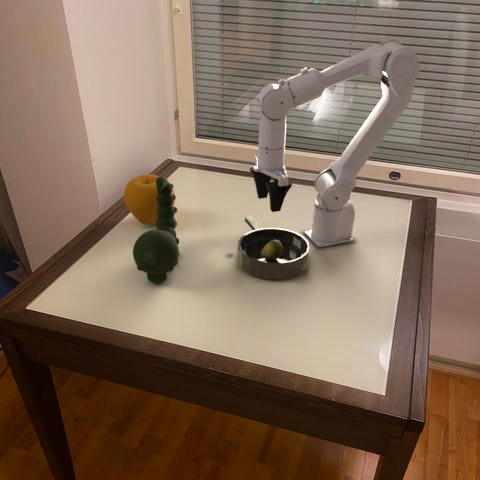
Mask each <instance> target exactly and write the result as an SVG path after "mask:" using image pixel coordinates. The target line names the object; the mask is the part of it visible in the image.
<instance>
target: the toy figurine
mask: <svg viewBox="0 0 480 480" xmlns="http://www.w3.org/2000/svg"><path fill="white" fill-rule="evenodd" d="M158 176H159V177H158V178H157V179H156V187H157V192H158V195H157V196H156V201H157V204H158V207H157V209H156V213H157V216H158V218H157V219H156V225H155V226H156V229H151V230H150V229H149V230H147V231H145V232H143V233H142V234H140V235H139V236H138V238H136V240H135V242H134V244H133V247H132V257H133V260H134V263H135V264H136V269H137V270H138V271H139V272H143V273H145V274H146V279H147V280H148V282H149V283H152V284H164V283H165V282H166V281H167V279H168V274H167V273H169V272H173V270H174V268H175V267H176V266H177V265H179V257H180V255H181V254H180V250H179V244H180V239H179V238H178V237H177V231H176V227H177V226H178V221H177V220H176V218H175V214H177V212H178V208H177V206H175V205H174V206H173V205H172V204H173V202H174V200H175V201H176V198H177V197H176V194H175V195H174V194H172V189H174V184H173V183H169V182H170V181H169V180H168V178H167V177H165V176H163V175H158ZM168 181H169V182H168Z"/></svg>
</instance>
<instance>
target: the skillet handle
mask: <svg viewBox="0 0 480 480" xmlns="http://www.w3.org/2000/svg"><path fill="white" fill-rule="evenodd" d="M244 222H245V223H246V224H247V225H248V227H249V228H250V229H251V231H253V230H257V229H263V228H264V227H262V226H261V225H260V224H259V222H257V221H256V219H255V218H254V217H253V216H252V215H249V216H245V217H244ZM259 234H262V233H260V232H259ZM263 234H264V230H263ZM257 235H258V231H257Z"/></svg>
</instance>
